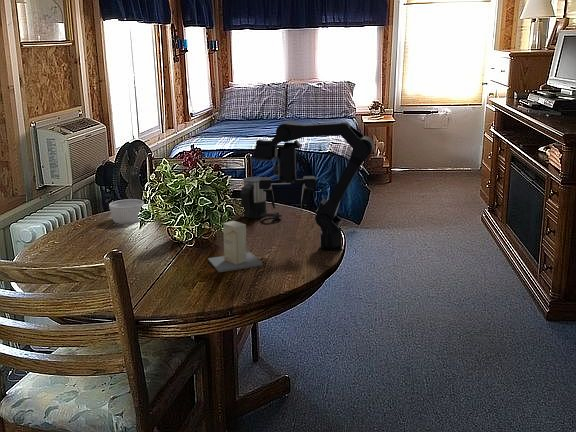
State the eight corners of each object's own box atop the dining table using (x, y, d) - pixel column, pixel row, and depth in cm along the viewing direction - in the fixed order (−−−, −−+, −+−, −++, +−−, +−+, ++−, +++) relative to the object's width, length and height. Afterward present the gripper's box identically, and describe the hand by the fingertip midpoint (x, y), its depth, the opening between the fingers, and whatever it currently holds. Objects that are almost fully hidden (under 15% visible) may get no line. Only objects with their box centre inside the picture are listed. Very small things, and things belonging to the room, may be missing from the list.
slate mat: (249, 253, 202) (249, 251, 202) (262, 265, 192) (262, 263, 192) (208, 260, 197) (208, 258, 197) (218, 272, 187) (218, 270, 187)
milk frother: (246, 212, 251) (244, 176, 247) (285, 212, 249) (284, 176, 245) (239, 222, 237) (237, 184, 233) (280, 222, 236) (279, 184, 232)
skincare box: (223, 260, 195) (221, 223, 192) (234, 256, 198) (232, 220, 195) (237, 265, 191) (235, 227, 187) (247, 261, 194) (246, 223, 190)
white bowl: (111, 217, 248) (109, 200, 246) (145, 214, 251) (143, 197, 249) (110, 226, 236) (108, 208, 234) (145, 223, 239) (144, 205, 237)
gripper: (313, 156, 210) (313, 200, 215) (258, 157, 210) (259, 202, 214) (316, 162, 200) (316, 209, 204) (258, 164, 199) (259, 211, 203)
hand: (287, 207), depth 207 cm, fingers open, 9 cm apart
